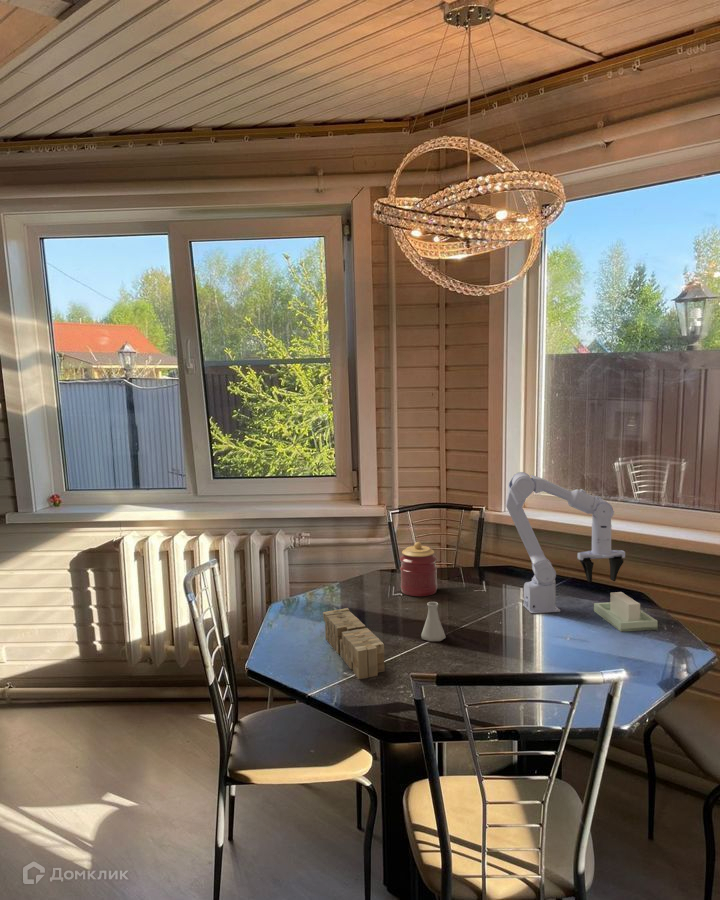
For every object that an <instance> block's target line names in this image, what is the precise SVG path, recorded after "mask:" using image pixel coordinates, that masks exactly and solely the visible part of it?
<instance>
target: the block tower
mask: <svg viewBox="0 0 720 900" xmlns="http://www.w3.org/2000/svg"><path fill="white" fill-rule="evenodd" d="M322 614H323V616H322V617H323V621H324V622H325V623H324V625H325V629H324V630H325V633H324V634H325V635H324V636H325V640H326V641H327V643H329V645H330V646H331V647H332V648H333V649H334V650H335V651H336V653H337V654H338V655H340V658H341V659H342V660H343V661H344V663H345V664H346V665H347V666H348V668H349V669H350V670H352V673H353V675H355V677H356V678H357V679H358V680H363V679H368V678H372V677H373V678H374V677H377V676H378V674H379V673H382V672H385V671H386V670H385V644H384V643H383V641H381V639H380V638H379V637H377V635H375V634H374V633H373V631H371V630H370V629H369V628H368V627H366V625H365V624H364V623H363V622H362V620H360V619H359V618H358V617H357V616H355V614H353V613H352V612H351V611H350V609H349V608H348V607H345V608H341V609H335V610H329V611H323V612H322Z"/></svg>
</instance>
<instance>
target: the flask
mask: <svg viewBox="0 0 720 900" xmlns="http://www.w3.org/2000/svg"><path fill="white" fill-rule="evenodd" d="M426 604H427V607H428V609H427V610H428V611H427V617H426V620H425V622H424V625H423V629H422V632H421V634H420V636H421V637H420V638H421V640H425V641H427V642H441V641H443V640H444V639H446V638H447V637H446V634H445V631H444V628H443V626H442V622H441V619H440V617H439V612H438V607H439V602H437V601H429V602H426Z"/></svg>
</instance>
